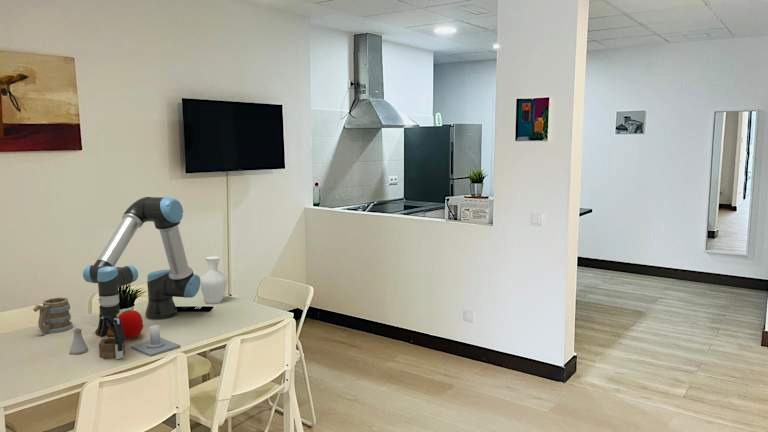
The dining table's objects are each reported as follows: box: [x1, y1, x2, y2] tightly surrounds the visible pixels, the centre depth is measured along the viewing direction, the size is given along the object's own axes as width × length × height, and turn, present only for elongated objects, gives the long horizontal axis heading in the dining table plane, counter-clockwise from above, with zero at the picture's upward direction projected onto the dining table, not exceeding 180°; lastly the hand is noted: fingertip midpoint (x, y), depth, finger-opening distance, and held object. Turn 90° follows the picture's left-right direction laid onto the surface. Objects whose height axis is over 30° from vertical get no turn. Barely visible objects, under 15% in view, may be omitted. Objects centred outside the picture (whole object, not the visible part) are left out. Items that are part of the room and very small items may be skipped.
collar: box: [98, 337, 126, 360], centre depth 244 cm, size 9×9×6 cm
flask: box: [68, 327, 89, 355], centre depth 247 cm, size 7×7×10 cm
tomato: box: [117, 309, 144, 339], centre depth 265 cm, size 11×11×13 cm
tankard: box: [32, 297, 74, 334], centre depth 273 cm, size 20×13×15 cm, turn 168°
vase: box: [200, 255, 228, 305], centre depth 322 cm, size 14×14×25 cm
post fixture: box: [130, 324, 181, 357], centre depth 252 cm, size 16×14×10 cm
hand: (112, 354), depth 244 cm, fingers open, 12 cm apart
